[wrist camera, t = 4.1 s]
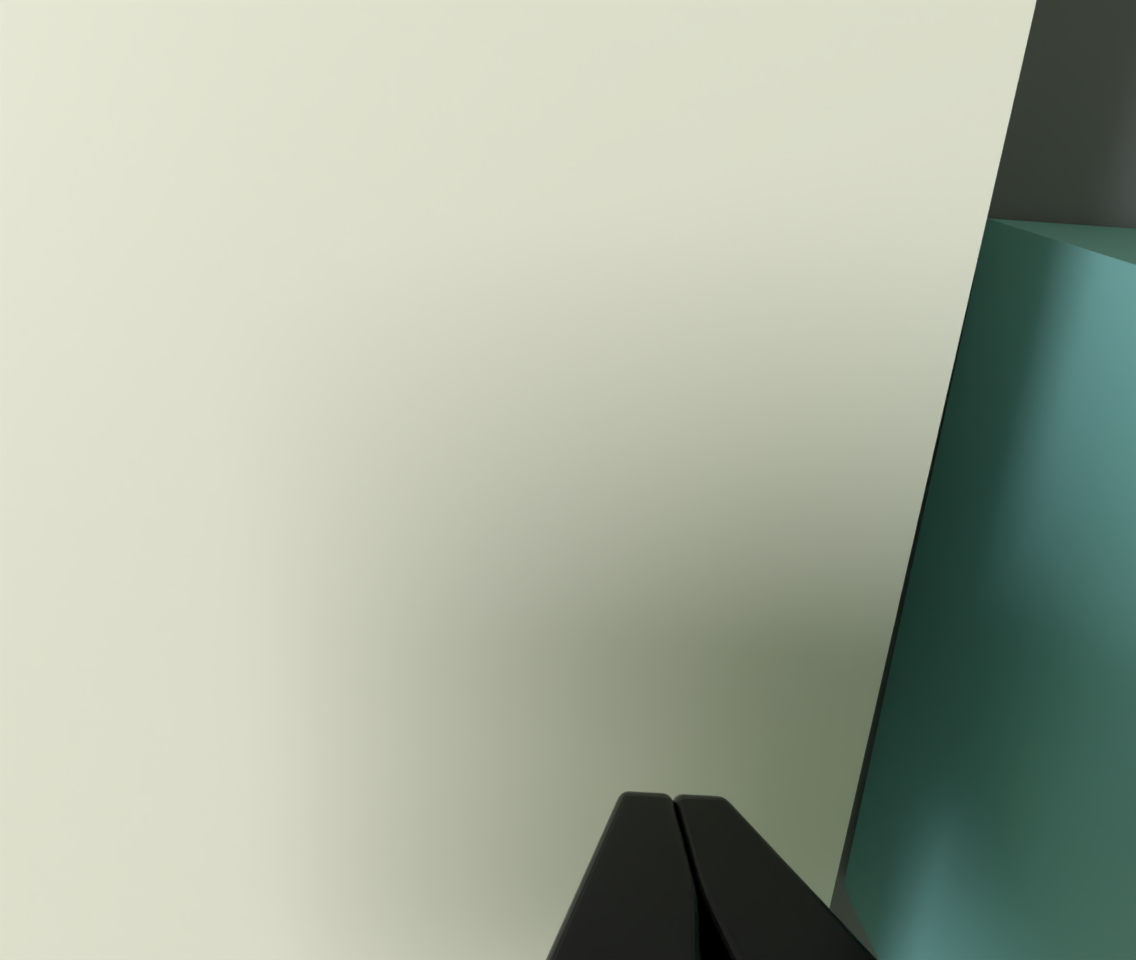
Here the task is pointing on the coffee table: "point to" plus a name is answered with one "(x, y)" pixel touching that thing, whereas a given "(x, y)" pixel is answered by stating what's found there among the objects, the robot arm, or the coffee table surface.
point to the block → (1018, 630)
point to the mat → (1048, 196)
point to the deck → (456, 443)
